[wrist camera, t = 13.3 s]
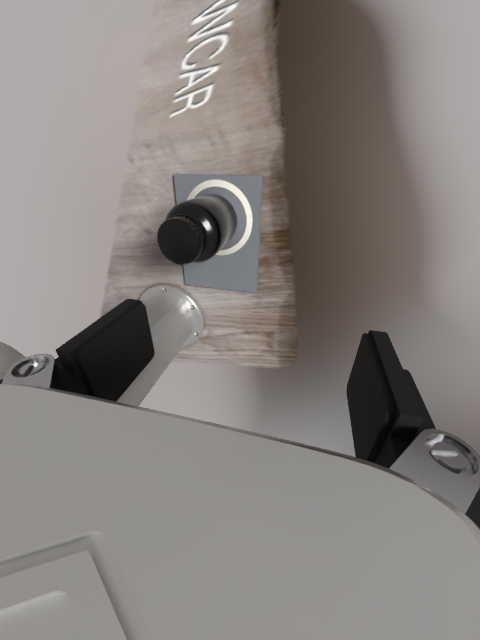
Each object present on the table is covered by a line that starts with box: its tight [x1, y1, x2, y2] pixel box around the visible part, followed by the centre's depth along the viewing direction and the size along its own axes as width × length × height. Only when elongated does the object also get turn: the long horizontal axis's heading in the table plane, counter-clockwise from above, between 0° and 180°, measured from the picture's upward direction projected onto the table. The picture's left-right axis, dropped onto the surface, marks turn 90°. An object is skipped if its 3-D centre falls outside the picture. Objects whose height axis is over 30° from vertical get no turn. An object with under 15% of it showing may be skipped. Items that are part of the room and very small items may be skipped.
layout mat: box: [174, 174, 263, 293], centre depth 38 cm, size 16×12×1 cm
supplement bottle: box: [157, 194, 237, 265], centre depth 31 cm, size 7×7×12 cm
